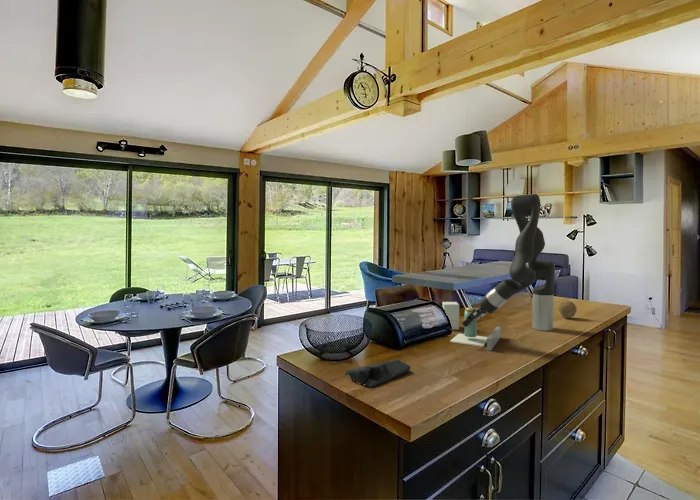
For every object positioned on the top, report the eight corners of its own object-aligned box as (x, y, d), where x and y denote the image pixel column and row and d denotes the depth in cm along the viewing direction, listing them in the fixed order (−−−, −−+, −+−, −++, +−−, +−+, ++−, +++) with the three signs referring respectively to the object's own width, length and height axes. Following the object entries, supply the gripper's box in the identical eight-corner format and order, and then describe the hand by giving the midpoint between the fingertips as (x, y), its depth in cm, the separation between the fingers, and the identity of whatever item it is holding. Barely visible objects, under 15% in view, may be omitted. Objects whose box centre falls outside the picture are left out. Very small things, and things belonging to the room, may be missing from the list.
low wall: (496, 337, 176) (496, 326, 176) (500, 337, 175) (500, 326, 175) (486, 350, 157) (486, 338, 157) (490, 350, 156) (491, 338, 156)
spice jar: (466, 333, 175) (466, 306, 174) (477, 335, 172) (478, 307, 172) (463, 336, 170) (463, 308, 170) (475, 337, 168) (475, 309, 167)
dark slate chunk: (417, 375, 132) (417, 361, 132) (367, 391, 119) (367, 375, 119) (387, 362, 145) (387, 350, 144) (339, 376, 132) (339, 362, 131)
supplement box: (456, 326, 197) (456, 301, 197) (459, 329, 190) (459, 304, 189) (442, 325, 198) (442, 301, 197) (444, 329, 191) (444, 304, 190)
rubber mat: (458, 334, 181) (458, 333, 181) (489, 338, 174) (489, 337, 174) (450, 342, 169) (450, 340, 169) (483, 346, 162) (483, 345, 162)
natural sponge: (562, 315, 219) (562, 298, 218) (579, 318, 212) (579, 300, 211) (555, 318, 213) (555, 300, 212) (572, 321, 206) (573, 302, 206)
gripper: (493, 291, 171) (467, 314, 179) (480, 295, 160) (453, 320, 168) (505, 304, 168) (478, 327, 176) (493, 309, 157) (465, 334, 165)
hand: (466, 323), depth 172 cm, fingers closed on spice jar, 5 cm apart
